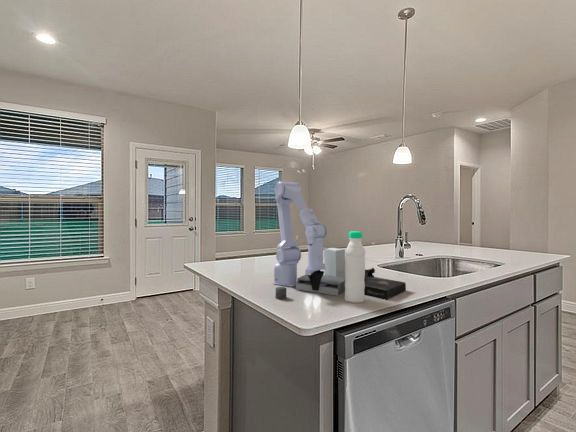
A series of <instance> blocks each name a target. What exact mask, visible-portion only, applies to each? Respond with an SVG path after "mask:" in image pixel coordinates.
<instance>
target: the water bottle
mask: <svg viewBox="0 0 576 432" xmlns="http://www.w3.org/2000/svg"><path fill="white" fill-rule="evenodd" d="M362 238H363V232H361V231H359V230H358V231H355V230H353V231H349V232H348V239H349V243H348V244H347V246H346V249H345V279H346V280H345V292H344V300H345V301H347V303H353V304H359V303H363V302H364V301H365V297H366V295H365V294H364V288H365V283H364V278H365V270H366V250H365V248H364V246H363V244H362Z"/></svg>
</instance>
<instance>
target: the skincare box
mask: <svg viewBox="0 0 576 432" xmlns="http://www.w3.org/2000/svg"><path fill="white" fill-rule="evenodd" d="M345 251H346V249H345V248H337V247H329V248H323V264H325V267H326V269H325V270H324V275H327V276H336V277H344V278H345V259H346V254H345Z"/></svg>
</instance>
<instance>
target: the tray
mask: <svg viewBox="0 0 576 432" xmlns="http://www.w3.org/2000/svg"><path fill="white" fill-rule="evenodd" d="M295 287H296V288H295V289H296V290H297V291H298V290H299V291H306V292H311V293H319V294H324V295H332V296H337V297H338V296H339V295H338V291H339V289H338V285H332V284H328V287H321V286H319V289H318V290H317V291H315V290H312V287H311V282H310V281H304V282H302V283H296V285H295Z"/></svg>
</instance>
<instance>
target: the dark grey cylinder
mask: <svg viewBox="0 0 576 432" xmlns="http://www.w3.org/2000/svg"><path fill="white" fill-rule="evenodd" d="M275 299H277V300H285V299H287V287H286V286H276V287H275Z"/></svg>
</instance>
